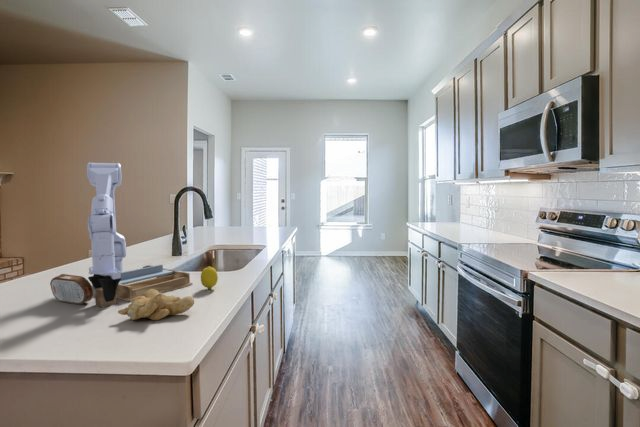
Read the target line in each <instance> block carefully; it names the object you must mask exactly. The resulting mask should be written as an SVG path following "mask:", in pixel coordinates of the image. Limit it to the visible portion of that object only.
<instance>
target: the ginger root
mask: <svg viewBox="0 0 640 427" xmlns="http://www.w3.org/2000/svg"><path fill="white" fill-rule="evenodd" d="M194 305H195V298H193V297H192V296H190V295H189V296H185V297H183V298H181V297H180V296H175V295H167V294H164V293H159V292H158V291H157V290H154V289H150V290H148V291H147V292H145V293H144V295H143V296H137V297H135V298H133V299H132V300H131V303H129V304H128V306H127V307H124V308H121V309H119V310H118V311H117V313H118V314H119V315H121V316H122V315H123V316H125V315H127V316H128V317H129V318H130V319H131V320H132V321H136V320H139V319H141V318H146V319H150V320H151V321H160V320H162V319H163V318H166V317H167V316H174V315H180V314H183V313H184V312H188V311H189V310H190V309H191V308H192V307H193V306H194Z"/></svg>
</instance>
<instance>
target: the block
mask: <svg viewBox="0 0 640 427" xmlns="http://www.w3.org/2000/svg"><path fill="white" fill-rule="evenodd" d="M94 298H95V306H98V307H100V308H104V307H105V308H106V307H109V306H113V305H116V304H117V298H116V293H115V297H114V300H113V301H109V302H106V301H105V298H104V292H103V289H102V287H100V288H95V289H94Z"/></svg>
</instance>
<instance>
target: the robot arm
mask: <svg viewBox="0 0 640 427" xmlns="http://www.w3.org/2000/svg"><path fill="white" fill-rule="evenodd" d="M86 176H87V180H88V181H89V184H90V185H91V186H92V187H95V194H96V195H95V196H94V197H93V198H92V200H91V205H90V206H91V207H90V208H91V209H90V216H88V217H87V218H88V219H87V229H88V233H89V241H91V244H90V245H91V260H92V262H91V263H92V266H89V267H88V275H91V276H88V278H87V280H88V281H89V283H90V284H91V286H92V288H93V290H95V288H100V287H102V289H103V292H104V298H105V301H106V302H109V301H113V300H114V297H115V293H116V289H117V286H118V284H119V282H120V280H121V272H124V262H123V259H125V258H126V257H127V242H126V238H125V236H124V235H123V234H121V233H119V232H117V221H116V220H117V219H116V218H117V216H116V206H115V205H116V203H115V202H116V201H115V192H116V188H117V187H121V186H122V184H123V183H122V182H123V181H122V178H123V177H122V165H121V164H120V162H117V163H115V162H114V163H111V162H110V163H109V162H87V164H86Z"/></svg>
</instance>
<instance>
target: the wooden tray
mask: <svg viewBox="0 0 640 427" xmlns="http://www.w3.org/2000/svg"><path fill="white" fill-rule="evenodd" d="M163 270H168V271H173V273H172V274H168V275H164V276H159V277H155V278H151V279H146V280H142V281H138V282H133V283H129V284H125V285H123V284H118V286H117V289H116V299H120V300H124V301H127V302H131V303H132V301H131V300H132V299H133V298H135V297H137V296H143V295H144V293H145V292H147V291H148V290H150V289H154V290H157V291H158V292H159V293H162V294H164V293H167V292H171V291H174V290H178V289H182V288H185V287H188V286H191V285H193V282H191V280H190V278H191V277H190V272H185V271H180V270H175V269H169V268H164V267H163Z"/></svg>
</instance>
